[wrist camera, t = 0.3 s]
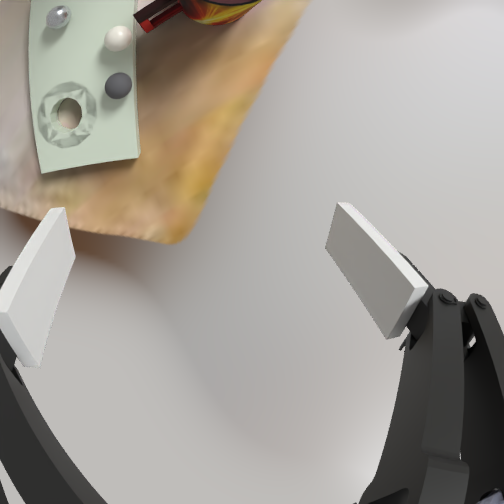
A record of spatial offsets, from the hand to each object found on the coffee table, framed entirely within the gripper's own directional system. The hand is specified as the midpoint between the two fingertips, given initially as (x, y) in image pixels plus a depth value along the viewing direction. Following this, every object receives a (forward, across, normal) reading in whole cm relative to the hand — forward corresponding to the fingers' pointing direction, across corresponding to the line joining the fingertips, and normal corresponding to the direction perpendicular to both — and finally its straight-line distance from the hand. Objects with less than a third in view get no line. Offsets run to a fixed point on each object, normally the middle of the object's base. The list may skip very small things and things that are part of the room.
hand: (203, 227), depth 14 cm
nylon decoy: (+23, -9, +11) cm, 27 cm away
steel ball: (+23, -17, +15) cm, 32 cm away
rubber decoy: (+23, -8, +5) cm, 25 cm away
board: (+27, -14, +8) cm, 32 cm away
